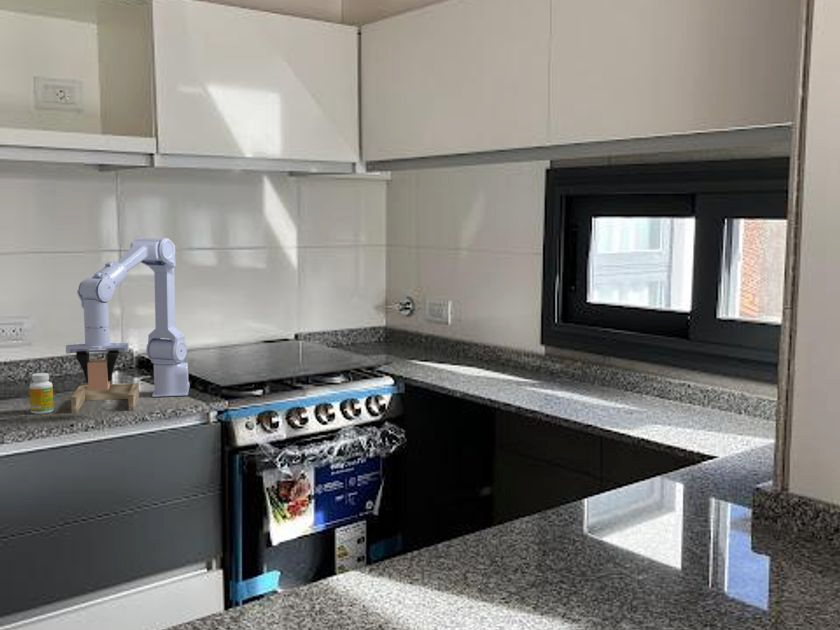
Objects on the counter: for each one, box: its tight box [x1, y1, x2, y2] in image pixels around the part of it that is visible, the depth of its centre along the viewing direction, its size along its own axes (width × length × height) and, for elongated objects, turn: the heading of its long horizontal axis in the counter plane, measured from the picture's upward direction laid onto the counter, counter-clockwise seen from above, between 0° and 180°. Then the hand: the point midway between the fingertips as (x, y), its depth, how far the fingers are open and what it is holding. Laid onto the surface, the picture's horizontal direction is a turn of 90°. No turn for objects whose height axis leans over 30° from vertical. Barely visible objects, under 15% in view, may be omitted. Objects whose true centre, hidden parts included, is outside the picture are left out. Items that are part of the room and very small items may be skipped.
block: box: [87, 358, 111, 391], centre depth 216 cm, size 4×4×7 cm
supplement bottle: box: [28, 372, 54, 415], centre depth 221 cm, size 5×5×10 cm
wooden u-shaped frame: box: [70, 382, 140, 414], centre depth 230 cm, size 15×16×4 cm
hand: (98, 381), depth 216 cm, fingers closed on block, 4 cm apart
